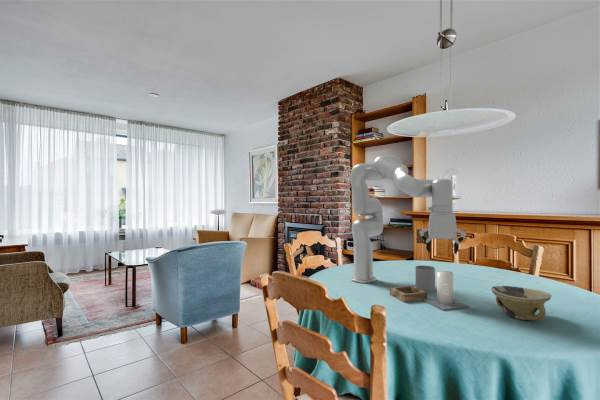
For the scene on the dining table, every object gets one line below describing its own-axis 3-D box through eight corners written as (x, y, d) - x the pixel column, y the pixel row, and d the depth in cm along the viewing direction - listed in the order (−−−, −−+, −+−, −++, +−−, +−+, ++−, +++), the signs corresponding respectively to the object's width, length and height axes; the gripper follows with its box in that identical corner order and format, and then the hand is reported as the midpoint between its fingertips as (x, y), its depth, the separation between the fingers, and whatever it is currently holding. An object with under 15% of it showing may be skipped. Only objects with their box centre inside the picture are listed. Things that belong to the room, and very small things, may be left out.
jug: (436, 299, 131) (435, 270, 131) (452, 300, 129) (452, 271, 129) (437, 305, 124) (437, 275, 124) (455, 307, 122) (454, 275, 122)
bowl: (565, 323, 107) (565, 294, 107) (524, 330, 102) (524, 300, 102) (516, 306, 124) (516, 281, 124) (479, 311, 119) (479, 285, 119)
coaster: (423, 300, 132) (423, 299, 132) (447, 297, 135) (447, 296, 135) (443, 310, 120) (443, 309, 120) (469, 307, 123) (469, 305, 123)
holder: (389, 294, 140) (389, 287, 140) (411, 292, 143) (411, 285, 143) (404, 302, 130) (404, 295, 130) (427, 299, 133) (427, 292, 133)
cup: (436, 292, 143) (436, 269, 143) (417, 291, 145) (417, 269, 145) (432, 286, 151) (432, 265, 151) (414, 286, 153) (414, 265, 153)
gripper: (419, 210, 127) (419, 253, 127) (467, 210, 121) (467, 255, 121) (418, 209, 134) (418, 250, 134) (464, 209, 128) (464, 252, 128)
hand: (442, 252), depth 128 cm, fingers open, 9 cm apart
